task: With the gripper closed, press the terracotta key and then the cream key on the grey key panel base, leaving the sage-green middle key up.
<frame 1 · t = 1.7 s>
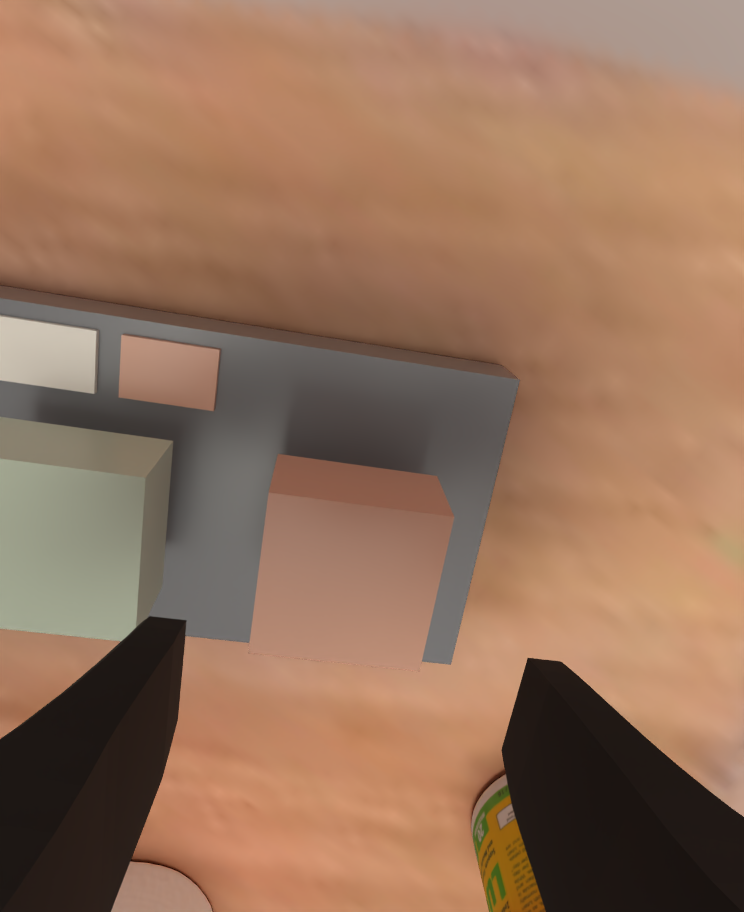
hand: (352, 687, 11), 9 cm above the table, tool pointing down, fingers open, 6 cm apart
grey key panel base: (127, 459, 20), on the table
sage key: (65, 527, 15), point 5 cm above the table, slide at 0.0 cm
terracotta key: (347, 560, 16), point 5 cm above the table, slide at 0.0 cm
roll: (139, 908, 26), on the table
supplement bottle: (537, 808, 25), on the table
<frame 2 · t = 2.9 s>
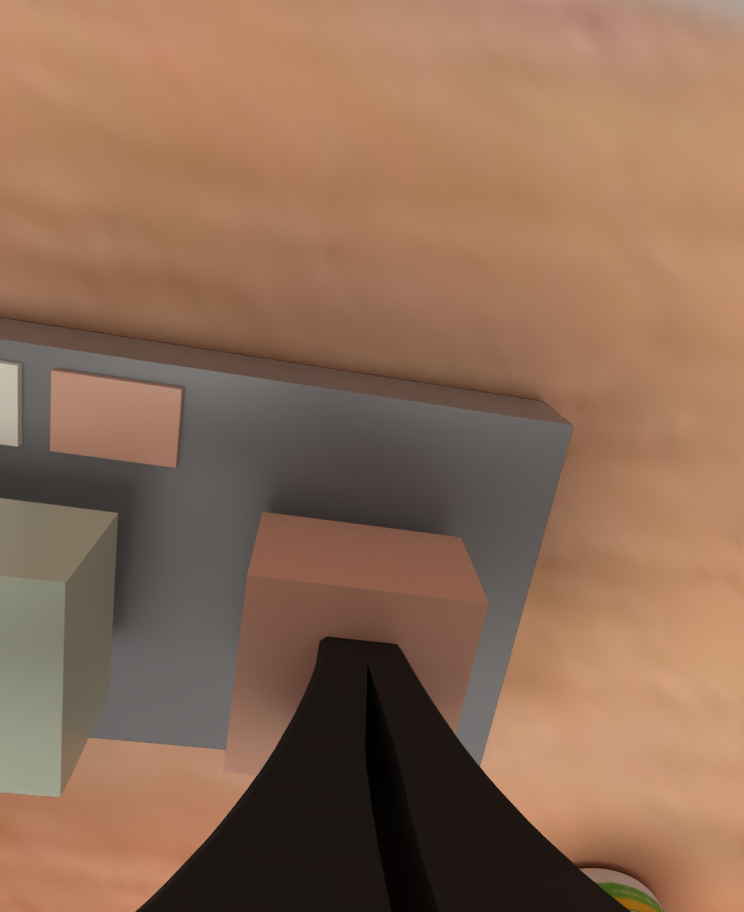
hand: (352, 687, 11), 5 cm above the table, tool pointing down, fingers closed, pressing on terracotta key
grey key panel base: (72, 518, 16), on the table
terracotta key: (349, 647, 13), point 4 cm above the table, slide at 0.8 cm, touching gripper
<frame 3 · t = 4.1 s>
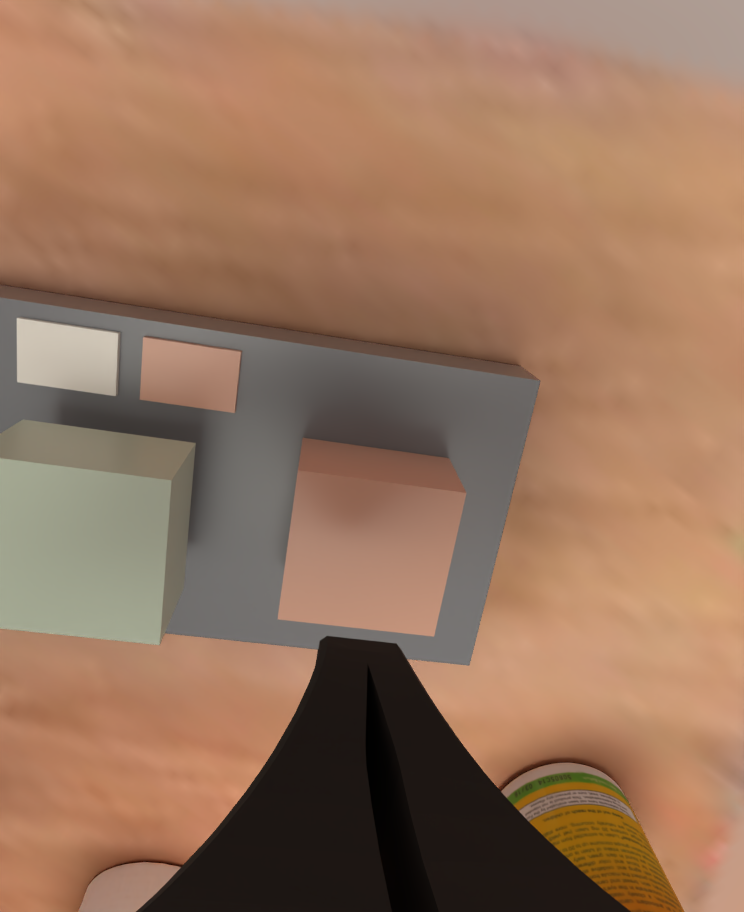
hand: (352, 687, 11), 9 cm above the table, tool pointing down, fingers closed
grey key panel base: (145, 460, 20), on the table
sage key: (89, 529, 15), point 5 cm above the table, slide at 0.0 cm
terracotta key: (367, 535, 17), point 3 cm above the table, slide at 1.5 cm
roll: (155, 909, 26), on the table
supplement bottle: (552, 809, 25), on the table
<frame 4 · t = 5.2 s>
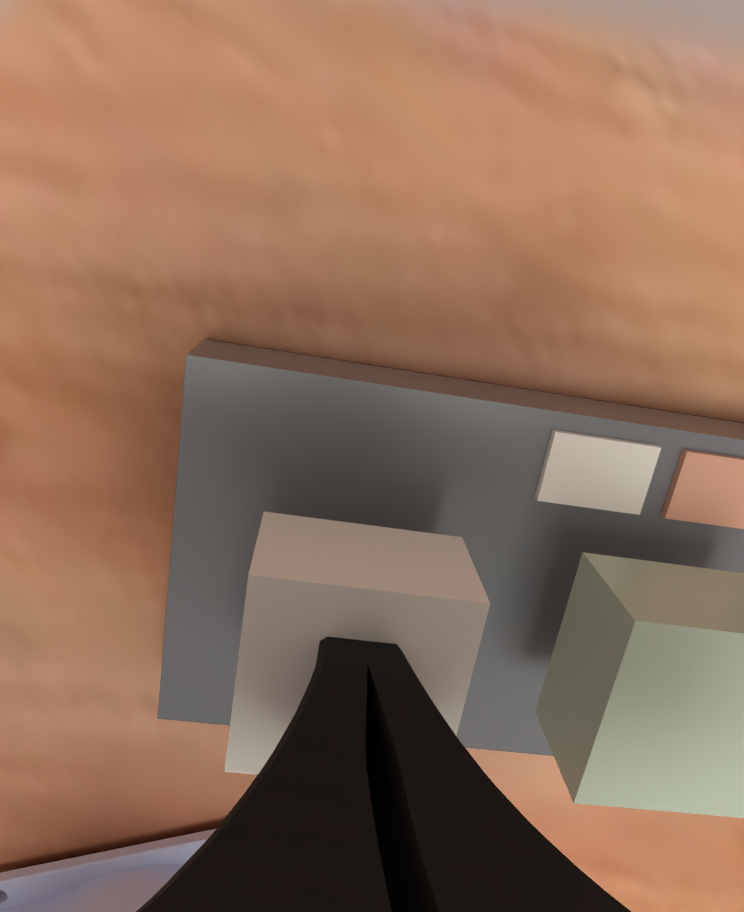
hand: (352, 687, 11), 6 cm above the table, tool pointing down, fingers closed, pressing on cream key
grey key panel base: (586, 567, 18), on the table
sage key: (673, 682, 13), point 5 cm above the table, slide at 0.0 cm
cream key: (350, 647, 13), point 5 cm above the table, slide at 0.1 cm, touching gripper
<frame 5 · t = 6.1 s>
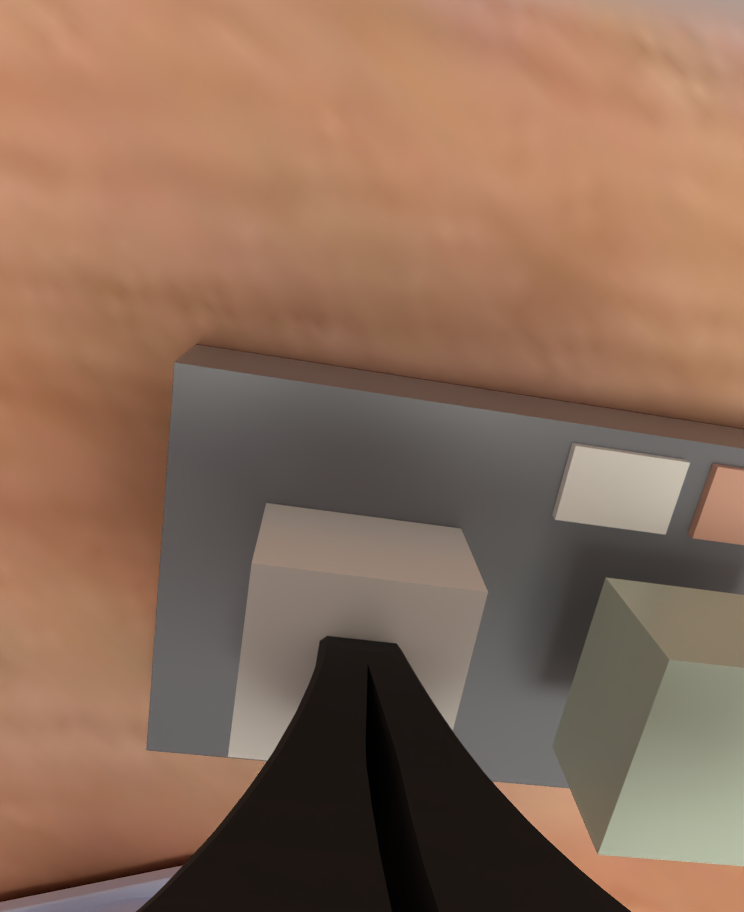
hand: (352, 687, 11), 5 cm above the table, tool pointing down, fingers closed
grey key panel base: (604, 586, 17), on the table
sage key: (705, 720, 12), point 5 cm above the table, slide at 0.0 cm
cream key: (351, 635, 13), point 3 cm above the table, slide at 1.5 cm
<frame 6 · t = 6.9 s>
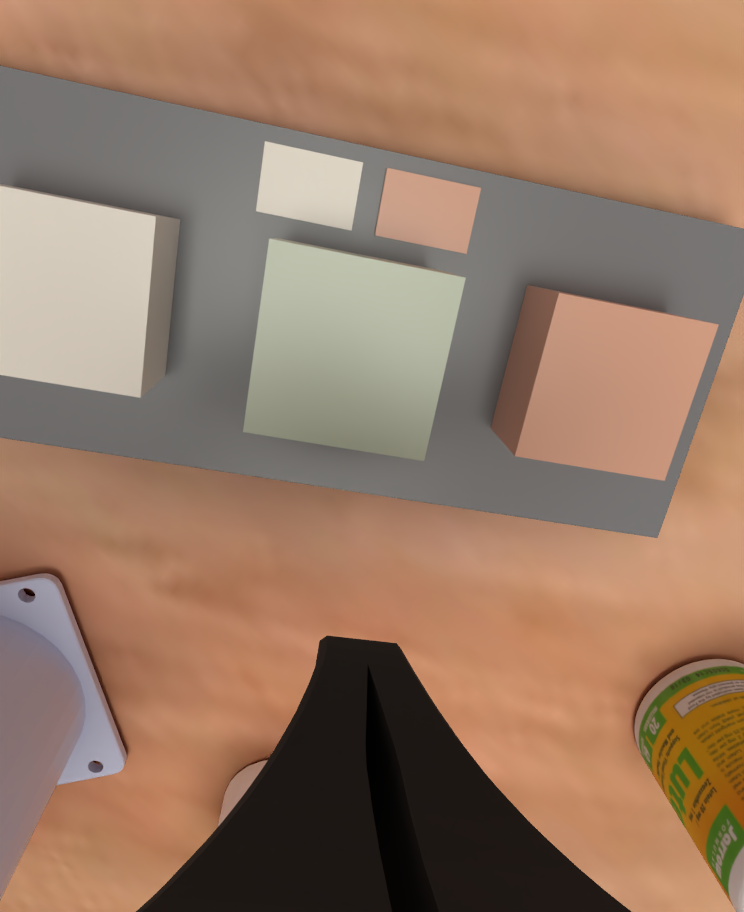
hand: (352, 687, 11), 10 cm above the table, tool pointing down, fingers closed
grey key panel base: (343, 321, 19), on the table
sage key: (349, 347, 15), point 5 cm above the table, slide at 0.0 cm
terracotta key: (594, 381, 17), point 3 cm above the table, slide at 1.5 cm
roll: (292, 810, 25), on the table
supplement bottle: (696, 710, 25), on the table
cream key: (74, 289, 16), point 3 cm above the table, slide at 1.5 cm
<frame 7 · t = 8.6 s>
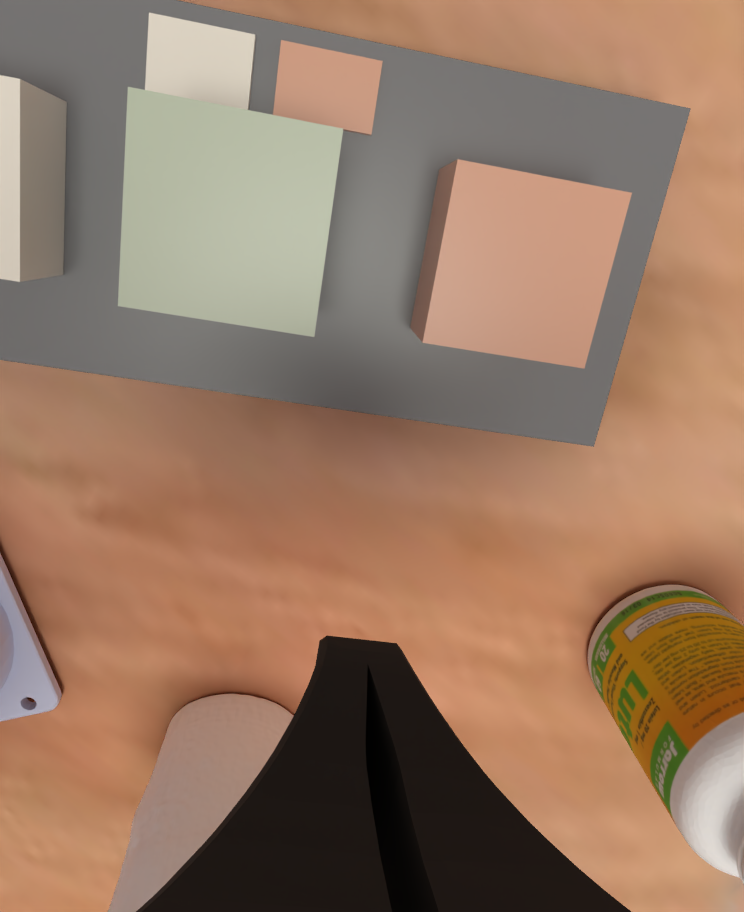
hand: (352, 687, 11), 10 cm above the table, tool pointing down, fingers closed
grey key panel base: (257, 223, 19), on the table
sage key: (235, 220, 14), point 5 cm above the table, slide at 0.0 cm
terracotta key: (510, 266, 16), point 3 cm above the table, slide at 1.5 cm
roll: (237, 751, 25), on the table
supplement bottle: (653, 641, 24), on the table
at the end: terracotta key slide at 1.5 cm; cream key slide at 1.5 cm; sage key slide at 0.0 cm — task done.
